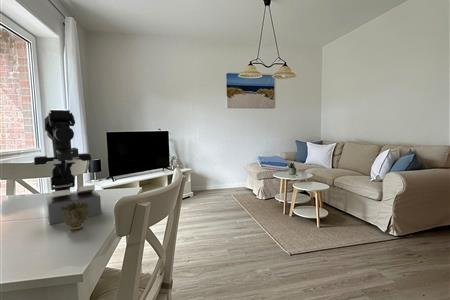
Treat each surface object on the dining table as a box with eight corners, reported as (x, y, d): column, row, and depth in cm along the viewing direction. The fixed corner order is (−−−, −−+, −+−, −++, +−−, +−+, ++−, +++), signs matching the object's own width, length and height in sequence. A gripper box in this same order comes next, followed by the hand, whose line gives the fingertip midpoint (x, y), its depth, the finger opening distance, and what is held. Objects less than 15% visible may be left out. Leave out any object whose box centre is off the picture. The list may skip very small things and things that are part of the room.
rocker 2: (77, 194, 95) (76, 189, 96) (91, 192, 98) (91, 187, 99) (79, 192, 89) (79, 186, 89) (95, 190, 92) (94, 184, 93)
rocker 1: (51, 197, 90) (51, 191, 91) (67, 194, 94) (67, 189, 94) (53, 198, 84) (52, 192, 84) (70, 195, 87) (69, 189, 87)
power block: (47, 215, 93) (46, 196, 93) (94, 206, 103) (93, 189, 102) (49, 224, 84) (48, 203, 83) (101, 213, 93) (100, 195, 93)
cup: (77, 235, 75) (75, 209, 74) (56, 233, 76) (54, 208, 75) (95, 225, 82) (93, 202, 81) (76, 224, 83) (74, 201, 83)
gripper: (33, 142, 86) (36, 186, 87) (92, 140, 98) (95, 179, 99) (32, 142, 95) (35, 182, 96) (87, 140, 106) (89, 175, 107)
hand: (65, 179), depth 99 cm, fingers closed
